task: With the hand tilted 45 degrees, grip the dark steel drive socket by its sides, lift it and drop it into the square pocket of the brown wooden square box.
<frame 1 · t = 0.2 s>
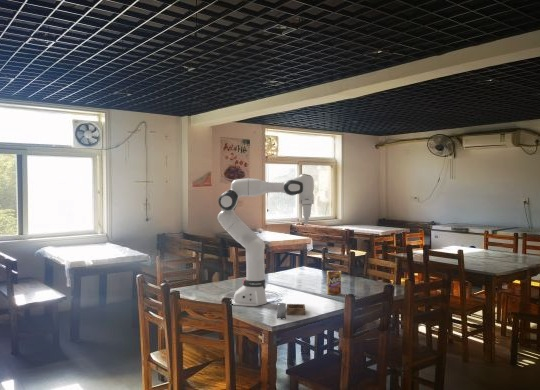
hand: (306, 223, 283), 48 cm above the table, tool pointing down, fingers open, 8 cm apart
candy box: (333, 294, 308), on the table
brown wooden square box: (295, 312, 262), on the table
steel socket: (281, 317, 251), on the table
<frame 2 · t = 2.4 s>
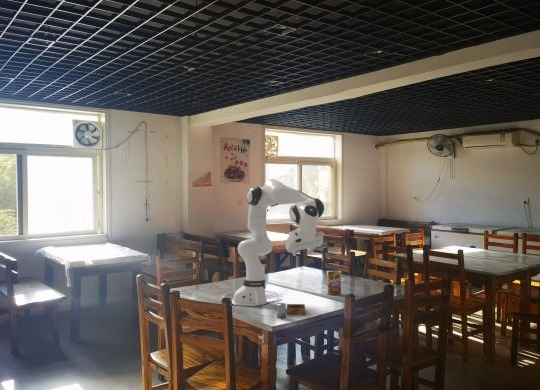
hand: (302, 253, 249), 35 cm above the table, tool tilted 35°, fingers open, 8 cm apart
nothing on the table moved.
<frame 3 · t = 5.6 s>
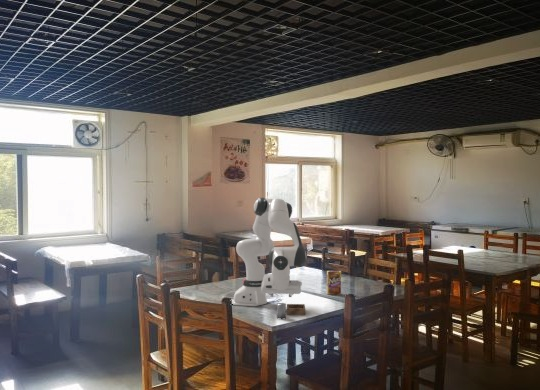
hand: (281, 295, 242), 14 cm above the table, tool tilted 45°, fingers open, 8 cm apart
nothing on the table moved.
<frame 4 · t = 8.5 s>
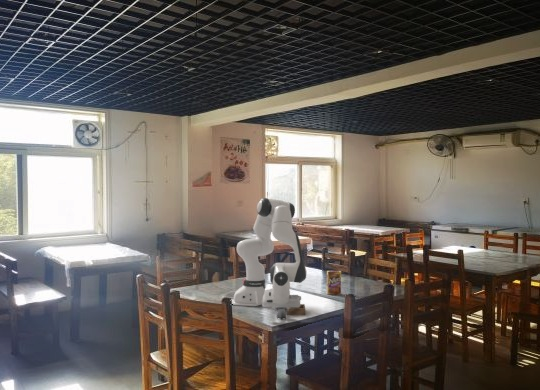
hand: (281, 309, 252), 4 cm above the table, tool tilted 45°, fingers closed on steel socket, 5 cm apart
steel socket: (281, 317, 251), on the table, touching gripper
everything else where it was.
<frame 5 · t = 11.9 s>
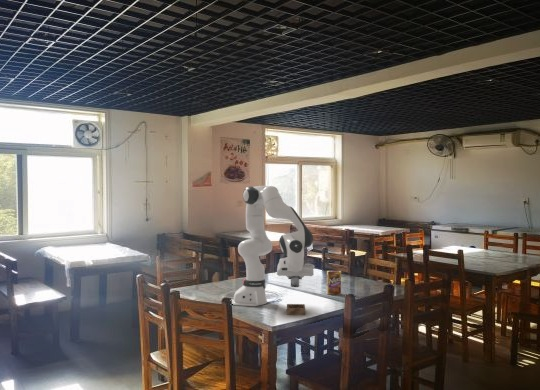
hand: (295, 278, 262), 19 cm above the table, tool tilted 45°, fingers closed on steel socket, 5 cm apart
steel socket: (294, 286, 262), point 15 cm above the table, touching gripper
everything else where it was.
when the fingers open (7 cm above the table, at t = 15.4 s): steel socket drops 1 cm, resting on brown wooden square box.
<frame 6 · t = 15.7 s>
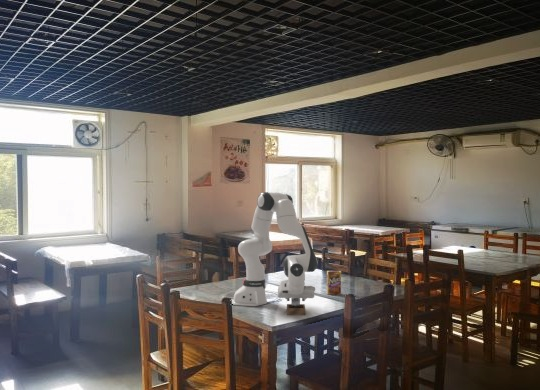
hand: (295, 300, 263), 7 cm above the table, tool tilted 45°, fingers open, 7 cm apart
steel socket: (295, 310, 262), point 1 cm above the table, touching brown wooden square box
everything else where it was.
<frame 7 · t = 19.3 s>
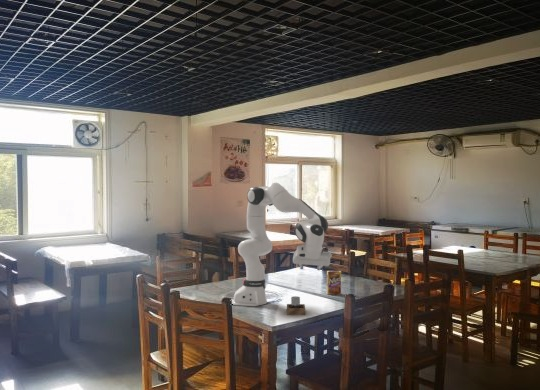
hand: (309, 268, 258), 25 cm above the table, tool tilted 40°, fingers open, 8 cm apart
nothing on the table moved.
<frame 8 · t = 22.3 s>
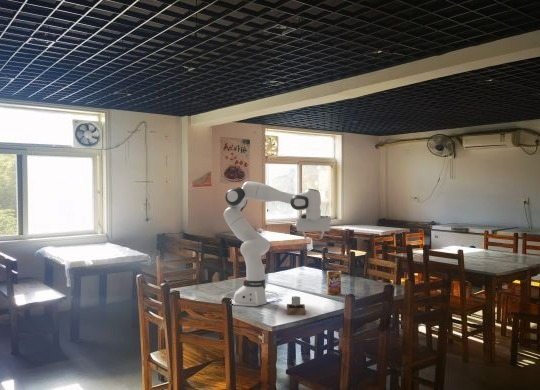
hand: (313, 238, 283), 39 cm above the table, tool pointing down, fingers open, 8 cm apart
nothing on the table moved.
at the end: steel socket 0.1 cm off-centre on the brown wooden square box, point 1.0 cm above the brown wooden square box's base; steel socket tilted 1°; the gripper is holding nothing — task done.
